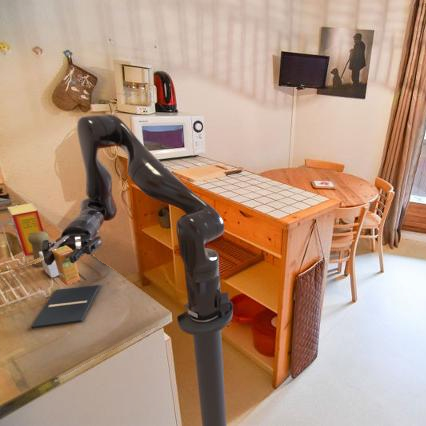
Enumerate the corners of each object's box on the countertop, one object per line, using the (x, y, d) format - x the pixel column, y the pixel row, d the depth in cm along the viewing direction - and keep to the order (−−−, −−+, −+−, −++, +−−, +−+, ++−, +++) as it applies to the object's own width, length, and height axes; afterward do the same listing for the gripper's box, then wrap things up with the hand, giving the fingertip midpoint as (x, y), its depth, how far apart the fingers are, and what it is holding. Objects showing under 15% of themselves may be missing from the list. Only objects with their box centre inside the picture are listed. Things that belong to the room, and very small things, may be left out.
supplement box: (67, 286, 84) (57, 253, 80) (60, 281, 85) (50, 249, 81) (81, 280, 86) (72, 248, 82) (74, 275, 88) (65, 244, 84)
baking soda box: (20, 246, 117) (6, 206, 111) (42, 240, 122) (31, 201, 115) (25, 255, 111) (11, 214, 105) (48, 249, 116) (37, 209, 110)
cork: (30, 267, 106) (20, 237, 102) (40, 257, 111) (31, 229, 107) (51, 265, 107) (43, 237, 103) (60, 256, 113) (52, 228, 108)
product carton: (65, 263, 109) (60, 245, 106) (73, 270, 106) (68, 251, 103) (43, 271, 104) (37, 251, 101) (50, 278, 101) (44, 258, 98)
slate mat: (99, 286, 99) (98, 284, 99) (81, 321, 86) (81, 319, 85) (56, 291, 96) (56, 289, 96) (31, 328, 82) (30, 326, 82)
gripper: (50, 221, 91) (20, 250, 76) (107, 218, 96) (89, 245, 81) (56, 243, 94) (29, 276, 79) (112, 239, 99) (95, 270, 84)
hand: (59, 260), depth 80 cm, fingers closed on supplement box, 4 cm apart
